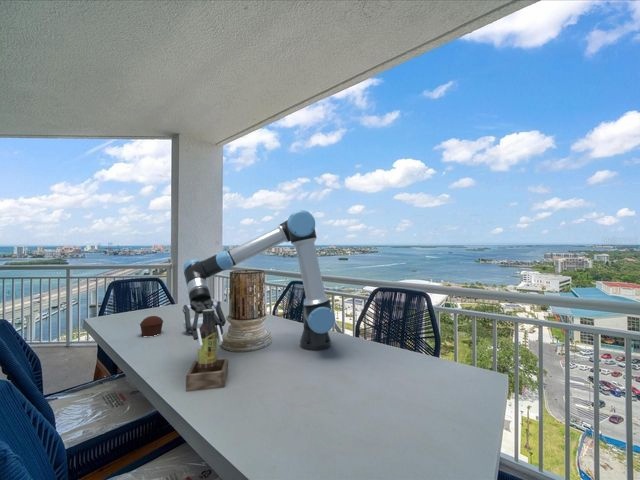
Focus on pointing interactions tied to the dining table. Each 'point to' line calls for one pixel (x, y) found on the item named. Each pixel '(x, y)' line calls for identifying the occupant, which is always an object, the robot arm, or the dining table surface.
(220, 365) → the wooden open tray
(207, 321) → the sauce bottle
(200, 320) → the cereal bowl
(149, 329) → the muffin
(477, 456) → the dining table surface
